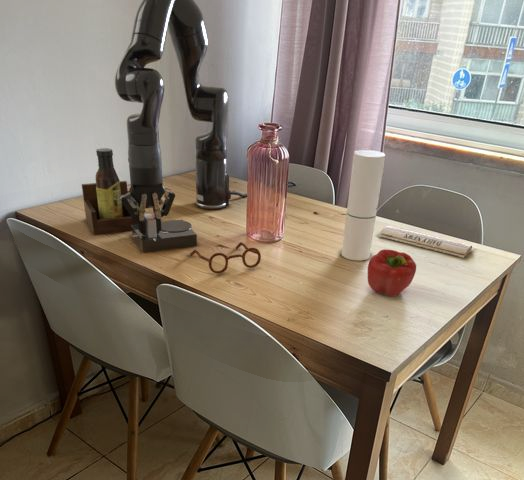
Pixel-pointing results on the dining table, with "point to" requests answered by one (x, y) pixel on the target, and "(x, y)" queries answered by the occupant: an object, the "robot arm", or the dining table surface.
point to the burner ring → (175, 225)
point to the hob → (164, 239)
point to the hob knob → (150, 226)
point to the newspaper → (426, 241)
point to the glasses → (230, 257)
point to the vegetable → (390, 272)
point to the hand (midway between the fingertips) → (150, 233)
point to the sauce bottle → (108, 186)
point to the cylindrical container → (362, 204)
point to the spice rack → (106, 224)
